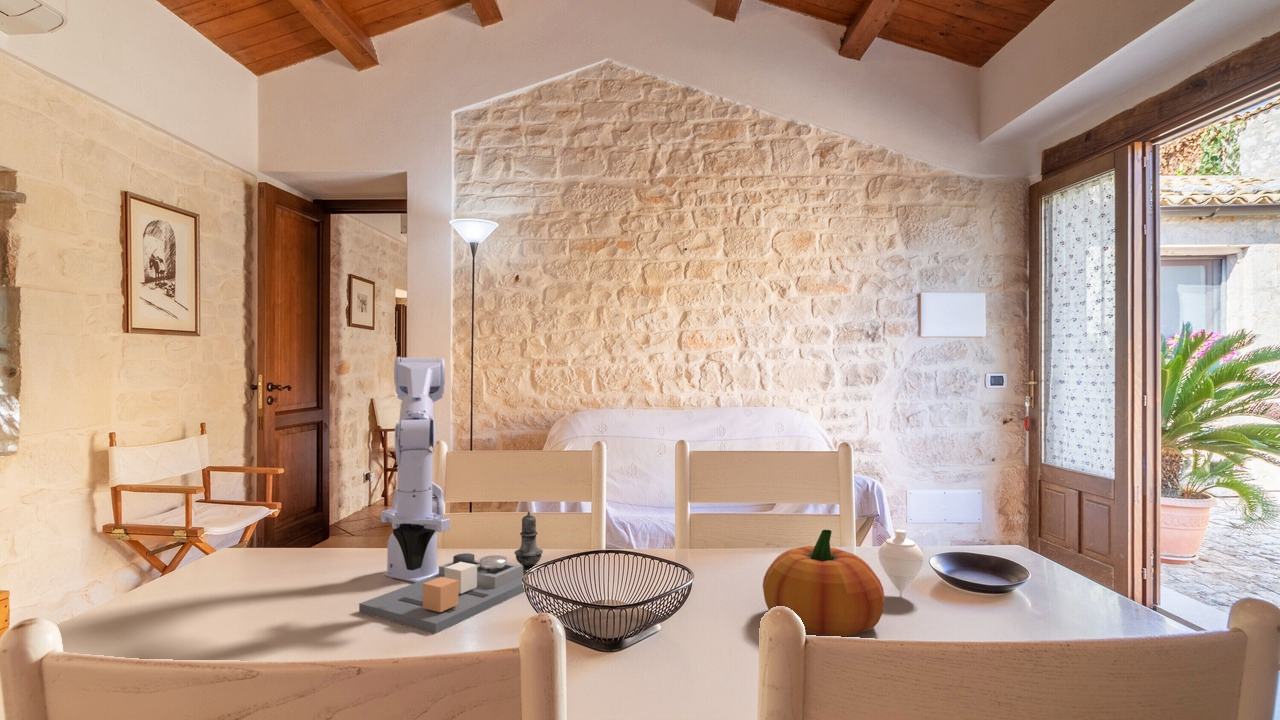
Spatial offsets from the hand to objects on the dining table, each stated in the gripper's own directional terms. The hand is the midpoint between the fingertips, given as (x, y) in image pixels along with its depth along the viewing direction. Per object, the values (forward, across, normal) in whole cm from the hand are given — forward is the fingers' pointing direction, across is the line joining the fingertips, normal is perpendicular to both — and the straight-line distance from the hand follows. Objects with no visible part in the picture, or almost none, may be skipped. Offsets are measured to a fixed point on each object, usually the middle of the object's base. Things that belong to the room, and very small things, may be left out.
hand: (414, 568), depth 108 cm
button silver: (+4, +4, +16) cm, 17 cm away
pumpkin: (+7, +63, +29) cm, 69 cm away
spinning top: (+7, +73, +48) cm, 87 cm away
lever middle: (+5, +3, +8) cm, 10 cm away
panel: (+7, +2, +8) cm, 11 cm away
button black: (+4, -4, +16) cm, 17 cm away
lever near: (+5, +6, 0) cm, 8 cm away
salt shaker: (+8, +3, +28) cm, 29 cm away
